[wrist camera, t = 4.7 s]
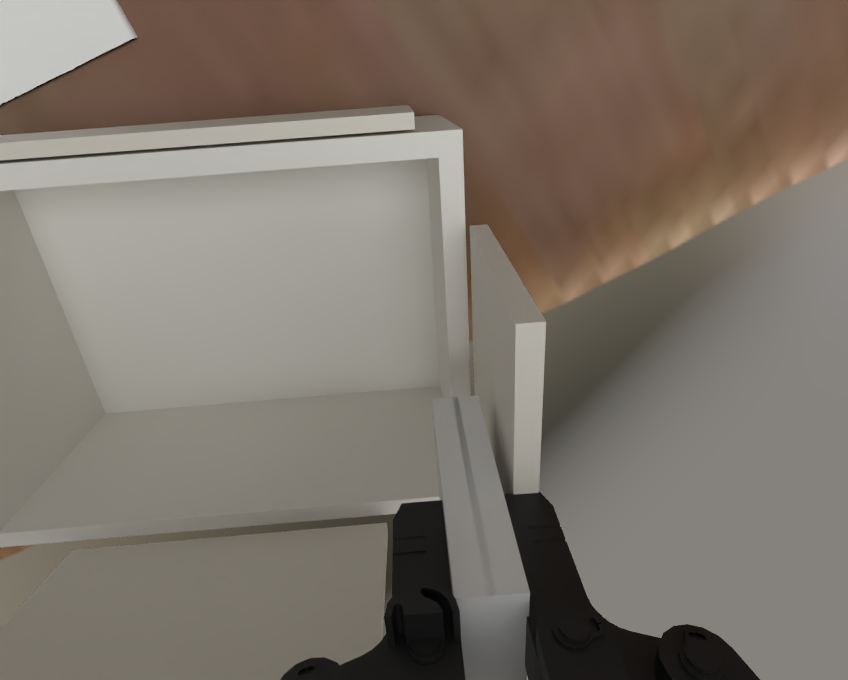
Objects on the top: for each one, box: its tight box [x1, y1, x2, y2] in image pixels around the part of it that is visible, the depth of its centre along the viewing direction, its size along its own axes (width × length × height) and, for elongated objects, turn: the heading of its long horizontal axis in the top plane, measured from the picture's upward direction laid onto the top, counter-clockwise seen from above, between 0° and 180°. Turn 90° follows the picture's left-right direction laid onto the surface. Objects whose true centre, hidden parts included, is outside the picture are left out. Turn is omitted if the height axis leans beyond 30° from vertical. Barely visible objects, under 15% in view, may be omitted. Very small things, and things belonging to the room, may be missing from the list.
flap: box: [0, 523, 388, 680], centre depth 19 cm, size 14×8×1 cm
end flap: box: [470, 224, 546, 495], centre depth 16 cm, size 8×10×1 cm
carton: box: [0, 105, 471, 547], centre depth 24 cm, size 23×17×10 cm
